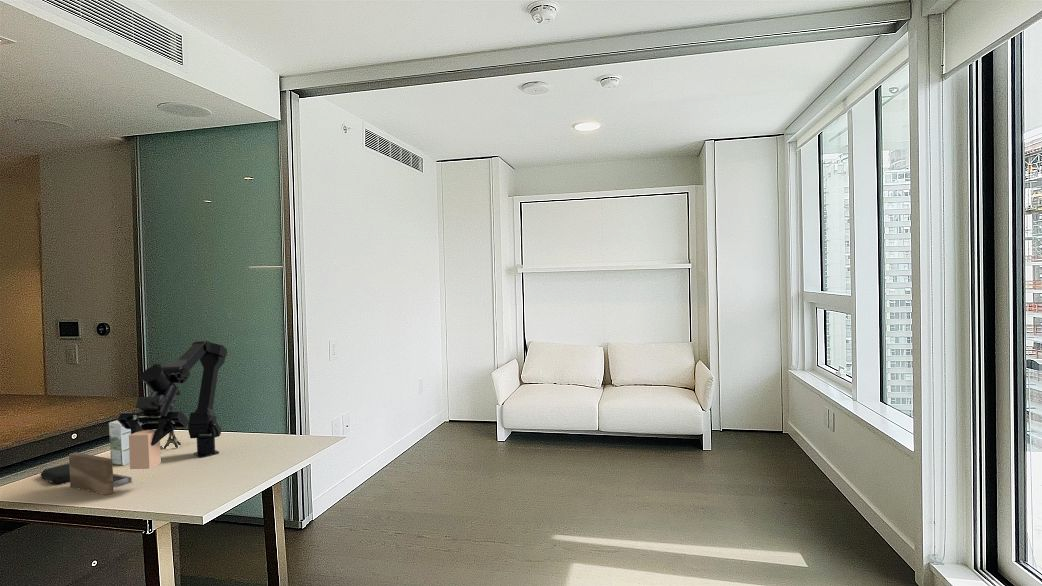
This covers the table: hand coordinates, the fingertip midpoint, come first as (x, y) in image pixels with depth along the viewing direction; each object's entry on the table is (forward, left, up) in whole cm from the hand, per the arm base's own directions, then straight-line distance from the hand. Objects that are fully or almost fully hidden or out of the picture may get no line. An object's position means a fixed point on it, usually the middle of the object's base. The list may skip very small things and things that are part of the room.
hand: (141, 445), depth 174 cm
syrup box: (-36, +4, -14) cm, 39 cm away
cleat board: (-14, -6, -13) cm, 20 cm away
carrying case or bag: (-33, -13, -14) cm, 38 cm away
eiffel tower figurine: (-45, +21, -14) cm, 52 cm away
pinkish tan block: (-1, +1, -7) cm, 7 cm away
